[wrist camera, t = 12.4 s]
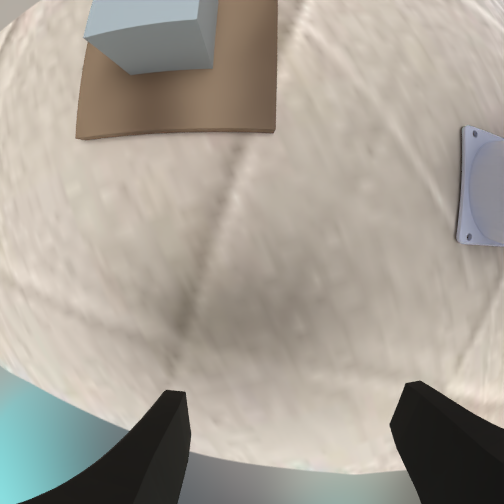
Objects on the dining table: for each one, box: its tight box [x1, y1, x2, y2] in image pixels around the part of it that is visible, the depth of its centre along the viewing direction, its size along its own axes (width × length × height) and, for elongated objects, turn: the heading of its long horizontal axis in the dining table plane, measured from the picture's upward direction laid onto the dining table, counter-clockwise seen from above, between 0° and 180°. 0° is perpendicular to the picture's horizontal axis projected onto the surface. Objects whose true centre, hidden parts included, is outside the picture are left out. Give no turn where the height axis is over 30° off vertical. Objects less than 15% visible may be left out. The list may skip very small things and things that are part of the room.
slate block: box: [83, 0, 218, 75], centre depth 10 cm, size 4×4×6 cm
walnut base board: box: [76, 0, 278, 140], centre depth 13 cm, size 11×11×1 cm
